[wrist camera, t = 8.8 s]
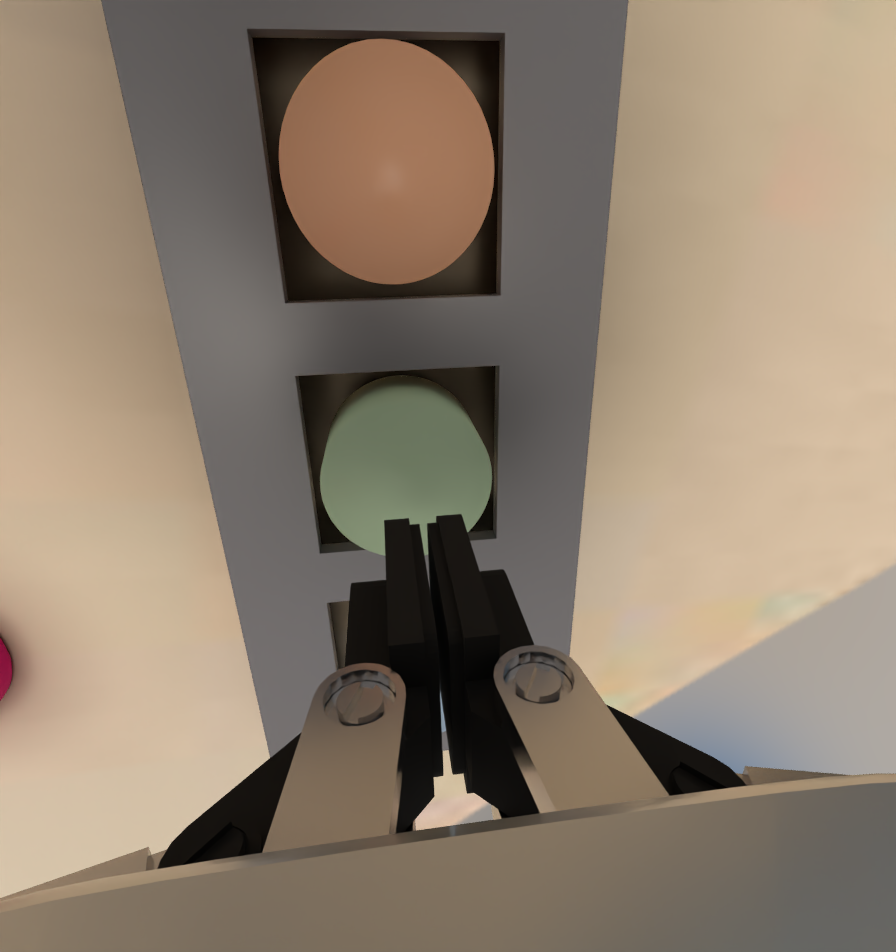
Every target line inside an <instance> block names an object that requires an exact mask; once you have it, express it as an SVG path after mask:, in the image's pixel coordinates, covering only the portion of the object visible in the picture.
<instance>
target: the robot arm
mask: <svg viewBox="0 0 896 952" xmlns="http://www.w3.org/2000/svg"><path fill="white" fill-rule="evenodd" d="M384 532H385V562H386V580H377V581H366V582H355V583H351V587H350V600H349V615H348V629H347V643H346V658H345V667H344V668H341V669H339V670H337V671H336V672H334V673H332V674H331V675H329V676H328V677H327V678H326V679H325V680H324V681H323V682H322V683H321V684H320V685H319V686H318V688H317V690H316V692H315V694H314V696H313V699H312V702H311V705H310V708H309V711H308V714H307V717H306V720H305V723H304V726H303V729H302V732H301V733H300V734H299V735H298V736H296V737H295V738H294V739H293V740H291V741H290V742H289V743H288V744H287V745H285V746H284V747H283V748H282V749H281V750H279V751H278V752H277V753H276V754H275V755H273V756H272V757H271V758H270V759H269V760H267V761H266V762H265V763H264V764H262V765H261V766H260V767H259V768H258V769H256V770H255V771H254V772H253V773H252V774H250V775H249V776H248V777H247V778H246V779H244V780H243V781H242V782H241V783H240V784H238V785H237V786H236V787H235V788H234V789H232V790H231V791H230V792H229V793H227V794H226V795H225V796H224V797H223V798H221V799H220V800H219V801H218V802H217V803H215V804H214V805H213V806H212V807H211V808H209V809H208V810H207V811H206V812H205V813H203V814H202V815H201V816H200V817H198V818H197V819H196V820H195V821H194V822H192V823H191V824H190V825H189V826H188V827H186V829H185V830H184V831H183V832H182V833H181V834H180V835H179V836H178V837H177V838H176V839H175V840H174V841H173V842H172V843H171V844H170V846H169V848H168V849H167V850H164V851H161V852H159V853H156V854H153V855H151V852H150V850H149V847H147V848H144V849H141V850H138V851H135V852H133V853H130V854H127V855H124V856H121V857H118V858H115V859H112V860H109V861H107V862H104V863H101V864H98V865H95V866H92V867H89V868H86V869H83V870H81V871H78V872H75V873H72V874H69V875H66V876H63V877H60V878H57V879H54V880H52V881H49V882H46V883H43V884H40V885H37V886H34V887H31V888H28V889H26V890H23V891H20V892H17V893H14V894H11V895H8V896H5V897H2V898H0V952H896V774H863V775H843V774H831V773H818V772H808V771H796V770H783V769H772V768H761V767H748V766H745V768H744V771H743V774H738V773H735V772H734V771H733V770H732V769H730V768H729V767H728V766H726V765H725V764H723V763H721V762H720V761H718V760H717V759H715V758H714V757H712V756H710V755H708V754H706V753H703V752H702V751H699V750H697V749H695V748H693V747H691V746H689V745H687V744H685V743H683V742H681V741H679V740H677V739H675V738H673V737H671V736H669V735H667V734H665V733H663V732H661V731H659V730H657V729H655V728H653V727H650V726H649V725H647V724H645V723H642V722H640V721H638V720H636V719H634V718H632V717H630V716H628V715H626V714H624V713H622V712H620V711H618V710H616V709H614V708H612V707H610V706H608V705H606V704H605V703H604V701H603V700H602V698H601V697H600V696H599V694H598V693H597V691H596V690H595V688H594V687H593V686H592V684H591V683H590V681H589V680H588V678H587V677H586V675H585V674H584V673H583V671H582V670H581V668H580V667H579V666H578V665H577V664H576V663H575V662H574V660H573V659H572V658H571V657H569V656H567V655H566V654H564V653H562V652H561V651H559V650H556V649H553V648H550V647H546V646H537V645H534V642H533V640H532V637H531V635H530V632H529V630H528V627H527V625H526V622H525V620H524V617H523V615H522V612H521V610H520V607H519V605H518V602H517V599H516V597H515V594H514V592H513V589H512V587H511V584H510V582H509V579H508V577H507V574H506V572H505V570H503V569H498V570H487V571H479V567H478V564H477V561H476V558H475V555H474V552H473V549H472V545H471V542H470V539H469V536H468V533H467V530H466V526H465V523H464V520H463V517H462V515H461V514H454V515H442V516H436V523H427V538H428V560H429V581H428V575H427V568H426V562H425V556H424V549H423V543H422V537H421V530H420V524H411V525H410V521H409V518H404V519H392V520H384ZM429 582H430V587H429ZM440 692H441V699H442V706H443V713H444V720H445V727H446V734H447V740H448V747H449V754H450V761H451V768H452V773H453V775H454V774H462V773H464V779H465V785H466V791H467V794H468V793H475V794H477V795H478V796H480V797H481V798H483V799H484V800H486V801H487V802H488V803H490V804H491V805H492V814H493V819H494V820H489V821H482V822H475V823H467V824H460V825H453V826H446V827H439V828H432V829H425V830H417V831H416V826H415V819H416V818H417V816H418V815H419V814H420V813H421V812H422V810H423V809H424V808H425V807H426V806H427V804H428V803H429V802H430V801H431V800H432V799H433V797H434V779H433V777H438V776H443V752H442V727H441V702H440Z"/></svg>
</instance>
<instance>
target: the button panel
mask: <svg viewBox="0 0 896 952" xmlns="http://www.w3.org/2000/svg"><path fill="white" fill-rule="evenodd" d="M101 2H102V6H103V11H104V15H105V20H106V24H107V29H108V33H109V38H110V42H111V46H112V51H113V55H114V60H115V64H116V69H117V73H118V78H119V82H120V87H121V91H122V96H123V100H124V105H125V109H126V114H127V118H128V123H129V127H130V132H131V136H132V141H133V145H134V149H135V154H136V158H137V163H138V167H139V172H140V176H141V181H142V185H143V190H144V194H145V199H146V203H147V208H148V212H149V217H150V221H151V226H152V230H153V235H154V239H155V243H156V248H157V252H158V257H159V261H160V266H161V270H162V275H163V279H164V284H165V288H166V293H167V297H168V302H169V306H170V311H171V315H172V320H173V324H174V329H175V333H176V338H177V342H178V346H179V351H180V355H181V360H182V364H183V369H184V373H185V378H186V382H187V387H188V391H189V396H190V400H191V405H192V409H193V414H194V418H195V423H196V427H197V432H198V436H199V441H200V445H201V449H202V454H203V458H204V463H205V467H206V472H207V476H208V481H209V485H210V490H211V494H212V499H213V503H214V508H215V512H216V517H217V521H218V526H219V530H220V535H221V539H222V544H223V548H224V552H225V557H226V561H227V566H228V570H229V575H230V579H231V584H232V588H233V593H234V597H235V602H236V606H237V611H238V615H239V620H240V624H241V629H242V633H243V638H244V642H245V647H246V651H247V655H248V660H249V664H250V669H251V673H252V678H253V682H254V687H255V691H256V696H257V700H258V705H259V709H260V714H261V718H262V723H263V727H264V732H265V736H266V741H267V745H268V750H269V754H270V758H271V757H272V756H273V755H275V754H276V753H277V752H278V751H279V750H281V749H282V748H283V747H284V746H285V745H287V744H288V743H289V742H290V741H291V740H293V739H294V738H295V737H296V736H298V735H299V734H300V733H301V732H302V729H303V726H304V723H305V720H306V717H307V714H308V711H309V708H310V705H311V702H312V699H313V696H314V694H315V692H316V690H317V688H318V686H319V685H320V684H321V683H322V682H323V681H324V680H325V679H326V678H327V677H328V676H329V675H331V674H332V673H334V672H336V671H337V670H338V663H337V655H336V648H335V641H334V633H333V626H332V619H331V612H330V604H329V603H330V602H340V601H349V600H350V587H351V583H355V582H366V581H377V580H386V562H385V556H384V555H379V554H376V553H373V552H370V551H368V550H366V549H364V548H361V547H360V546H358V545H356V544H355V543H353V542H345V543H333V544H321V538H320V531H319V524H318V517H317V509H316V502H315V495H314V487H313V480H312V473H311V465H310V458H309V451H308V443H307V436H306V429H305V421H304V414H303V407H302V400H301V392H300V385H299V378H298V376H304V375H323V374H343V373H362V372H382V371H401V370H421V369H441V368H460V367H480V366H495V428H494V500H493V530H487V531H476V532H468V536H469V539H470V542H471V545H472V549H473V552H474V555H475V558H476V561H477V564H478V567H479V571H487V570H498V569H503V570H505V572H506V574H507V577H508V579H509V582H510V584H511V587H512V589H513V592H514V594H515V597H516V599H517V602H518V605H519V607H520V610H521V612H522V615H523V617H524V620H525V622H526V625H527V627H528V630H529V632H530V635H531V637H532V640H533V642H534V645H537V646H546V647H550V648H553V649H556V650H559V651H561V652H562V653H564V654H566V655H567V656H569V654H570V643H571V632H572V621H573V610H574V599H575V588H576V576H577V565H578V554H579V543H580V532H581V521H582V509H583V498H584V487H585V476H586V465H587V454H588V443H589V431H590V420H591V409H592V398H593V387H594V376H595V365H596V353H597V342H598V331H599V320H600V309H601V298H602V287H603V275H604V264H605V253H606V242H607V231H608V220H609V209H610V197H611V186H612V175H613V164H614V153H615V142H616V131H617V119H618V108H619V97H620V86H621V75H622V64H623V52H624V41H625V30H626V19H627V8H628V0H101ZM252 37H267V38H336V39H406V40H475V41H500V66H499V138H498V211H497V283H496V294H468V295H441V296H414V297H386V298H359V299H331V300H304V301H288V297H287V290H286V283H285V275H284V268H283V261H282V253H281V246H280V239H279V231H278V224H277V217H276V209H275V202H274V195H273V187H272V180H271V173H270V166H269V158H268V151H267V144H266V136H265V129H264V122H263V114H262V107H261V100H260V92H259V85H258V78H257V70H256V63H255V56H254V49H253V41H252ZM424 556H425V562H426V568H427V575H428V581H429V560H428V555H424ZM429 587H430V582H429ZM444 750H449V747H448V740H447V734H446V731H444V732H442V751H444Z"/></svg>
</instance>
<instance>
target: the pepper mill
mask: <svg viewBox="0 0 896 952" xmlns="http://www.w3.org/2000/svg"><path fill="white" fill-rule="evenodd" d="M11 678H12V664H11V657H10V655H9V653H8V651H7V649H6V647H5V645H4V643H3V641H2V639H1V638H0V700H1V699H2V698H3V696H4V695H5V693H6V692H7V690H8V688H9V686H10V683H11Z"/></svg>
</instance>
